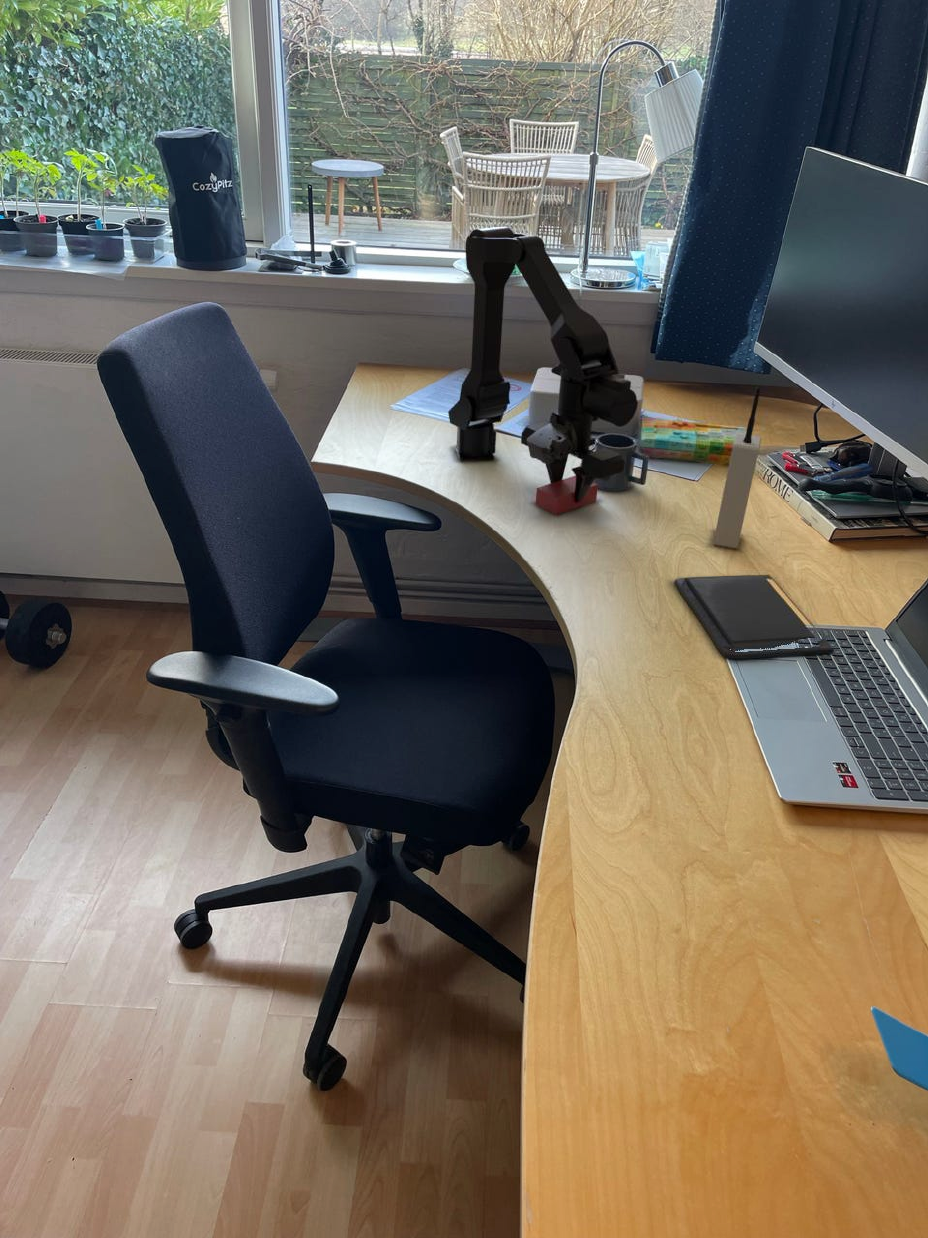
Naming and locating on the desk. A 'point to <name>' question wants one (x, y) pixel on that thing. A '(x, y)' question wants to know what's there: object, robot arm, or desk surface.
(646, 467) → the mug
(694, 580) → the wallet
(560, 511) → the red rectangular block
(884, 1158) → the desk surface
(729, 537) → the vintage mobile phone
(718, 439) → the puzzle game
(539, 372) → the projector
